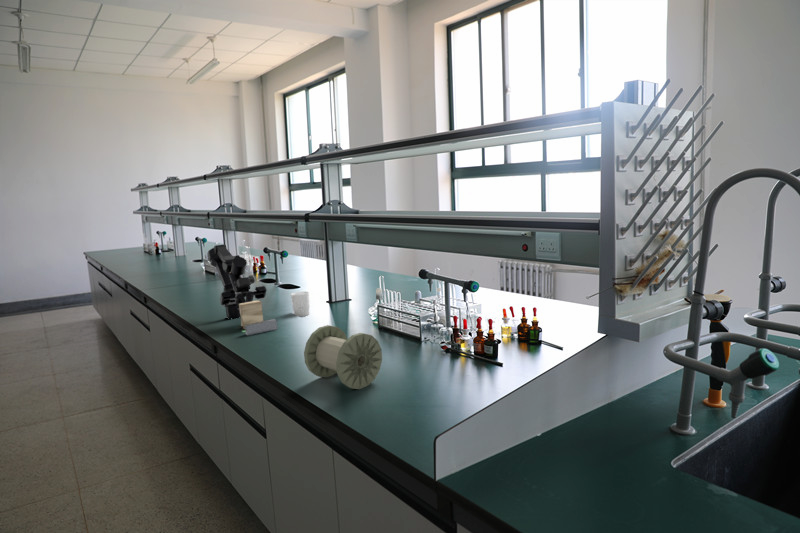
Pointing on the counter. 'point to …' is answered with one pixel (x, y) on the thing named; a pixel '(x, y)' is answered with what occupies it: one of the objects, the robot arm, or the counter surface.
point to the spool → (343, 356)
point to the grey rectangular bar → (260, 327)
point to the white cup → (300, 303)
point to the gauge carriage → (250, 313)
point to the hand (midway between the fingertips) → (249, 311)
